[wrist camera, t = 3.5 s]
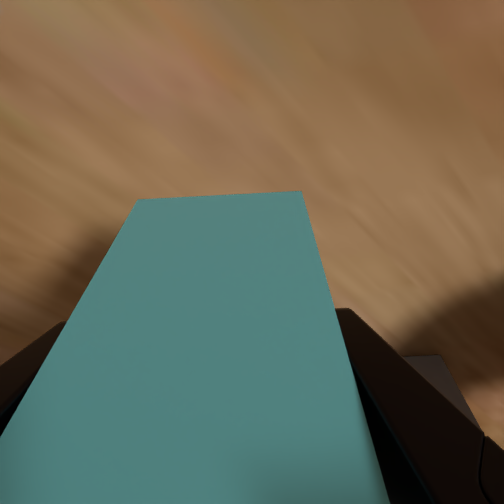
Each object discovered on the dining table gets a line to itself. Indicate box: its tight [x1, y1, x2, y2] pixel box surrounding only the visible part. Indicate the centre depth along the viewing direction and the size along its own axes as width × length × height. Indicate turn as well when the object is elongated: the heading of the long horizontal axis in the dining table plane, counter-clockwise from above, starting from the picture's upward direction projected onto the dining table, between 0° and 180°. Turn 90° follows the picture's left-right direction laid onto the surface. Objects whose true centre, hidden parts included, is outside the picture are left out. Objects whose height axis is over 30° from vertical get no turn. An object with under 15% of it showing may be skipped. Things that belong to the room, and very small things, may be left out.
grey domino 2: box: [403, 355, 485, 437], centre depth 23 cm, size 5×2×10 cm, turn 93°
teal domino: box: [0, 191, 390, 504], centre depth 8 cm, size 5×2×10 cm, turn 93°
